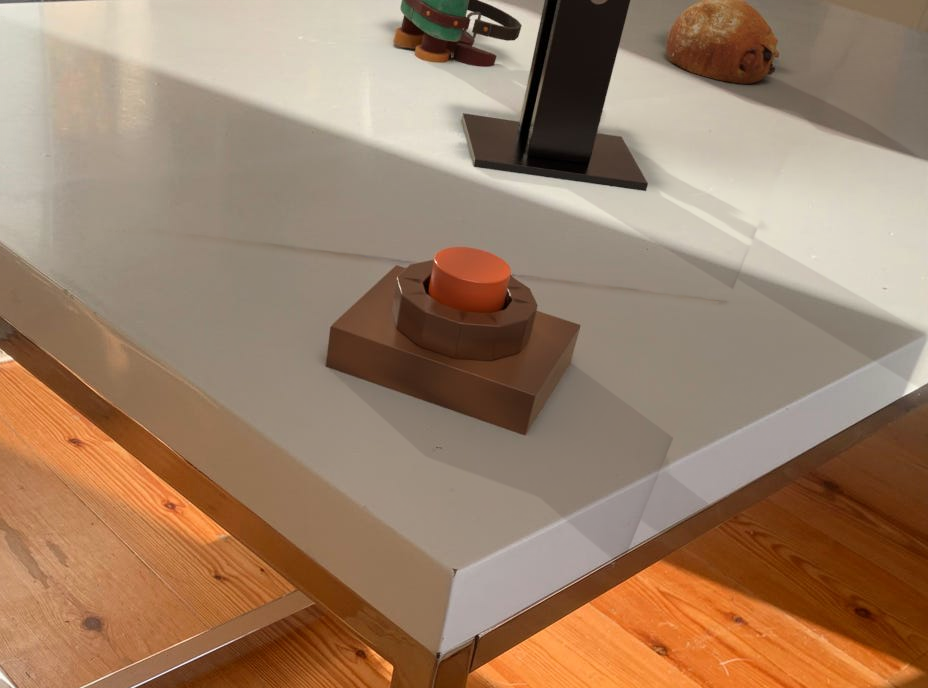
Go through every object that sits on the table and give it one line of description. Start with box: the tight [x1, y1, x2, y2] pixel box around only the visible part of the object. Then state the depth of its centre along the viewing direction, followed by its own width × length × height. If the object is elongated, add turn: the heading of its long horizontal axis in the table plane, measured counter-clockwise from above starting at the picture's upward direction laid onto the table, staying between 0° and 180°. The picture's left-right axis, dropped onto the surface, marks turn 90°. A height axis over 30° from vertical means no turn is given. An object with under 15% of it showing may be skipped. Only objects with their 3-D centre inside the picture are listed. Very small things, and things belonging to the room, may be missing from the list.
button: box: [428, 246, 512, 313], centre depth 52 cm, size 4×4×2 cm
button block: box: [325, 259, 581, 436], centre depth 54 cm, size 10×8×4 cm
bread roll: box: [665, 0, 780, 85], centre depth 107 cm, size 10×10×8 cm
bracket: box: [461, 0, 649, 192], centre depth 75 cm, size 12×9×14 cm
